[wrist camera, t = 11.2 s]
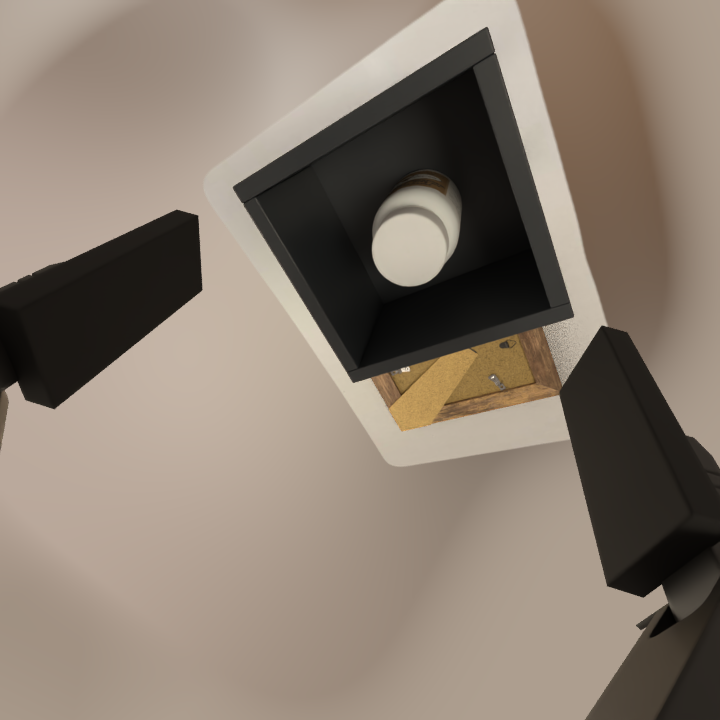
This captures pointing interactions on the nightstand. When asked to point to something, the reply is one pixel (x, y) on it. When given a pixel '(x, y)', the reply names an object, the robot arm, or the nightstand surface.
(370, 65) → the nightstand surface
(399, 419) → the picture frame
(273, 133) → the nightstand surface
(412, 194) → the pill bottle
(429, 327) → the legged open box
